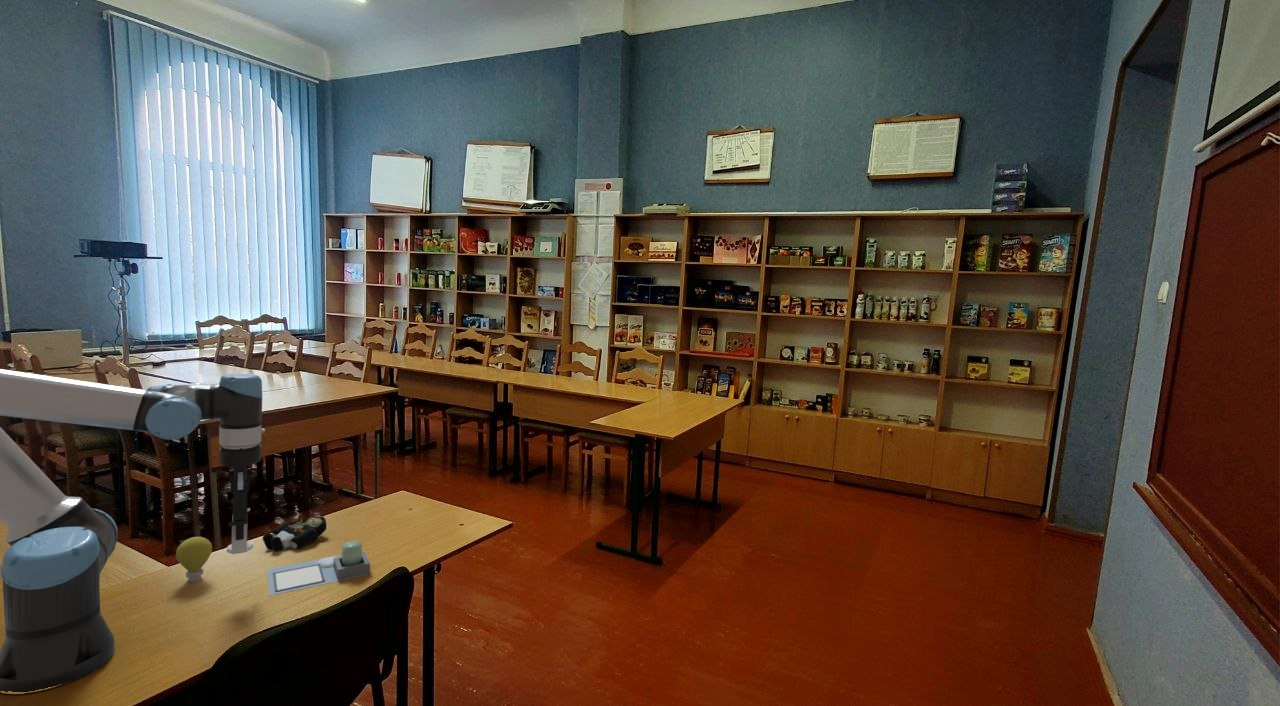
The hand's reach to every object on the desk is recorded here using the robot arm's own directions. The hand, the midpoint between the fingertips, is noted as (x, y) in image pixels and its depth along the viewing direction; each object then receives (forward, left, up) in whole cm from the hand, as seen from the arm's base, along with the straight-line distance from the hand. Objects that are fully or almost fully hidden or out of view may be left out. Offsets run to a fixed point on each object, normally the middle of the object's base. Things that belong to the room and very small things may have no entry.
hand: (239, 547), depth 125 cm
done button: (+22, -1, -8) cm, 24 cm away
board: (+15, +2, -11) cm, 19 cm away
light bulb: (-9, +13, -11) cm, 19 cm away
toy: (+13, +24, -12) cm, 29 cm away
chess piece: (0, 0, -1) cm, 1 cm away
